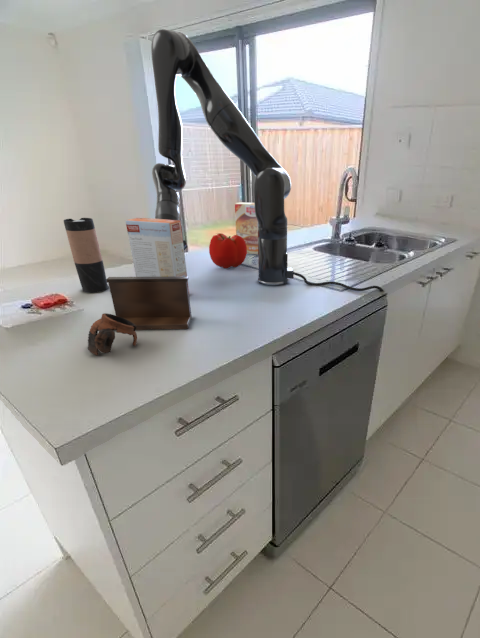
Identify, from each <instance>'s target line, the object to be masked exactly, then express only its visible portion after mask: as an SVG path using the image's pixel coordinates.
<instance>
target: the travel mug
mask: <svg viewBox="0 0 480 638" xmlns="http://www.w3.org/2000/svg"><path fill="white" fill-rule="evenodd" d="M63 225H64V228H65V233H66V236H67V240H68V245H69V248H70V253H71V256H72V259H73V262H74V266H75V269H76V273H77V276H78V278H79V282H80V285H81V288H82V292H84V293H87V294H88V293H89V294H94V293H102V292H105V291H106V290H108V289H109V284H108V283H107V280H106V279H107V275H106V271H105V265H104V261H103V256H102V252H101V248H100V243H99V240H98V235H97V230H96V227H95V222H94V219H93V218H91V217H81V218H80V219H72V218H65V219H63Z"/></svg>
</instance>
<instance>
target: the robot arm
mask: <svg viewBox="0 0 480 638" xmlns="http://www.w3.org/2000/svg"><path fill="white" fill-rule="evenodd" d="M150 50H151V51H150V52H151V63H152V71H153V79H154V88H155V95H156V104H157V114H158V117H157V118H158V136H157V137H158V140H157V141H158V145H157V147H158V148H157V149H158V150H157V151H158V153H159V155H161V156H162V157H163V158H165V159H167V160H169V161H171V162H172V163H173V164H174V165H172V164H165V163H161V162H158V163H156V164H154V166H153V167H152V169H151V176H152V181H153V184H154V187H155V188H154V189H155V191H156V205H155V214H154V219H165V220H180V221H181V213H180V205H181V204H180V199H181V198H180V194H179V192H180V191H182V190H183V189H185V187H186V184H187V177H186V172H185V168H184V163H183V155H182V154H183V123H182V118H181V115H180V112H179V108H178V105H177V99H176V81H177V76H179V77H180V78H182V79H183V80H184V81H185V82H186V83H187V85H188V86H189V87H190V88H191V90H192V91H193V92H194V94H195V96H196V97H197V99H198V101H199V104H200V107H201V110H202V114H203V117H204V120H205V122H206V123H207V125H208V127H209V128H210V130H211V131H212V132H213V133H214V135H215V136H216V137H217V139H218V140H219V141H220V142H221V144H222V145H223V146H224V147H225V148H226V149H227V150H229V152H231V153H232V154H233V155H234V156H235V157H236V158H238V159H239V160H240V161H241V162H243V163H244V164H245V166H247V167H248V169H249V170H250V171H251V172H252V175H254V177H255V178H254V181H253V200H254V202H253V203H254V204H255V215H256V219H257V223H258V255H257V261H258V263H257V268H258V275H257V276H258V279H257V280H258V281H257V282H258V283H259V284H261V285H264V286H281V285H288V279H294V276H296V277H299V278H302V280H303V281H304V284H306V285H308V286H326V285H336V286H340V287H342V288H345V289H348V290H350V291H354V292H365V291H368V290H369V291H370V290H373V289H376V290H379V291H380V292H384V289H383V288H382V287H380V286H378V285H370V286H365V287H361V288H360V287H353V286H350V285H347V284H345V283H342V282H339V281H331V280H330V281H322V282H316V283H315V282H310V281H308V280H307V278H306V276H304V275H303V274H302V273H298V272H295V271H294V269H293V267H288V259H289V258H288V217H287V215H286V212H285V199H287V198H288V197H289V195H290V193H291V189H292V182H291V177H290V176H289V174H288V172H287V171H286V170H285V169H284V168H283V167H282V165H281V164H280V163H279V162H278V161H277V160H276V159H275V158H274V157H273V155H272V154H271V153H270V152H269V151H268V150H267V149H266V147H265V146H264V144H263V143H262V141H261V140H260V137H258V135H257V133H256V132H255V131H254V129H253V128H252V127H251V125H250V123H249V122H248V121H247V119H246V118H245V116H244V115H243V113H242V112H241V111H240V109H239V108H238V107H237V105H236V104H235V102H234V101H233V100H232V98H230V96H229V95H228V93H227V92H226V90H225V89H224V88H223V87H222V86H221V84H220V82H219V81H218V80H217V79H216V78H215V76H214V74H213V73H212V72H211V70H210V68H209V67H208V65H207V63H206V62H205V60H204V59H203V57H202V55H201V53H200V52H199V51H198V48H197V47H196V45H195V44H194V43H193V41H192V40H191V39H190V38H189V36H188V35H186V33H183V32H181V31H176V30H172V29H166V28H162V29H161V28H160V29H158V30H156V31H155V33H154V34H153V36H152V40H151V45H150ZM183 245H184V251H186V249H187V248H188V243H187V241H186V240H185V239H183Z"/></svg>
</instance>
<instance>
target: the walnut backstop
mask: <svg viewBox="0 0 480 638" xmlns="http://www.w3.org/2000/svg"><path fill="white" fill-rule="evenodd" d="M106 280H107V284H108V289H109V292H110V297H111V301H112V305H113V309H114V313H115V314H114V315H116V316H119V317H122V318H124V319H126V320H128V321H130V322H132V323H134V324H135V325H136V326H137V328H136V330H135V331H144V330H145V331H146V330H148V331H149V330H151V331H152V330H153V331H155V330H188V329H189V328H190V325H191V321H192V318H193V316H192V309H191V308H192V307H191V299H190V290H189V291H188V287H189V275H187V276H164V277H136V276H109V277H106ZM187 281H188V282H187Z"/></svg>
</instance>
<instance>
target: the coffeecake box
mask: <svg viewBox="0 0 480 638" xmlns="http://www.w3.org/2000/svg"><path fill="white" fill-rule="evenodd" d="M234 218H235V220H234V221H235V235H237V236H241V237H242V238H243V239H244V241H245V243H246V246H247V255H257V256H258V223H257V219H256V215H255V204H254V202H244V201H243V202H242V201H241V202H240V201H239V202H235V203H234Z"/></svg>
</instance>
